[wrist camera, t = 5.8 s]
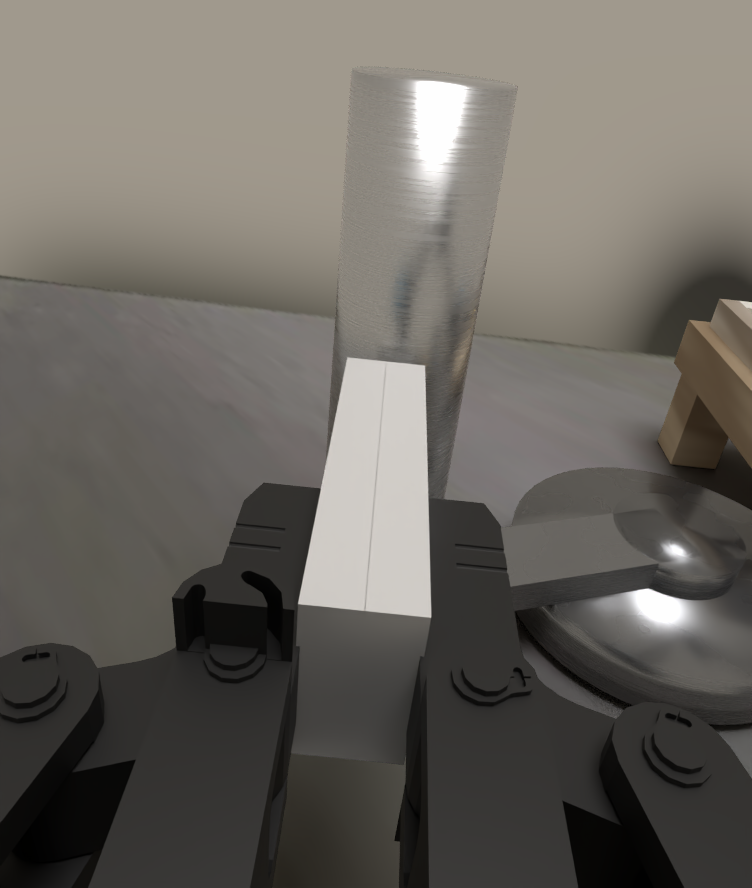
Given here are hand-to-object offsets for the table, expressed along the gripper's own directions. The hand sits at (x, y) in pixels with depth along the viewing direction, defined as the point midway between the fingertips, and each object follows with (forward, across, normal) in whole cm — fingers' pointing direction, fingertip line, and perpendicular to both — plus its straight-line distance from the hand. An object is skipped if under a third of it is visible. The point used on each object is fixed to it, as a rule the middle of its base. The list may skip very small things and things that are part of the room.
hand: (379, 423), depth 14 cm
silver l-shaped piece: (+4, +7, -9) cm, 12 cm away
